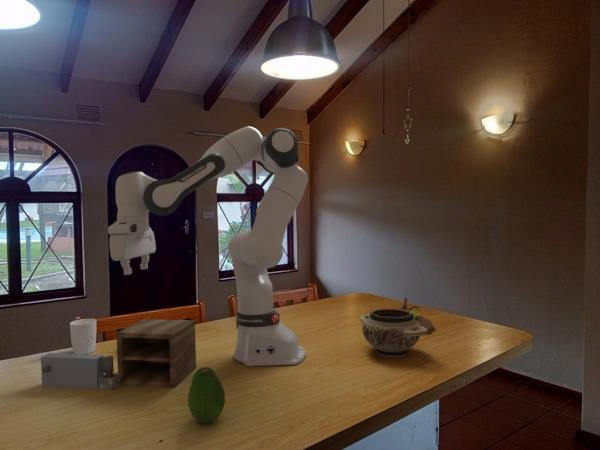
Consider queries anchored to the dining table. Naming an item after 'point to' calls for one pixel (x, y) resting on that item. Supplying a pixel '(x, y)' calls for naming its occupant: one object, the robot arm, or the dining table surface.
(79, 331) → the white cup
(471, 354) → the dining table surface
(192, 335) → the cabinet
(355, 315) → the dining table surface
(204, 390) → the avocado
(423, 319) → the plant
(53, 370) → the grey box
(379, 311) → the ceramic bowl
